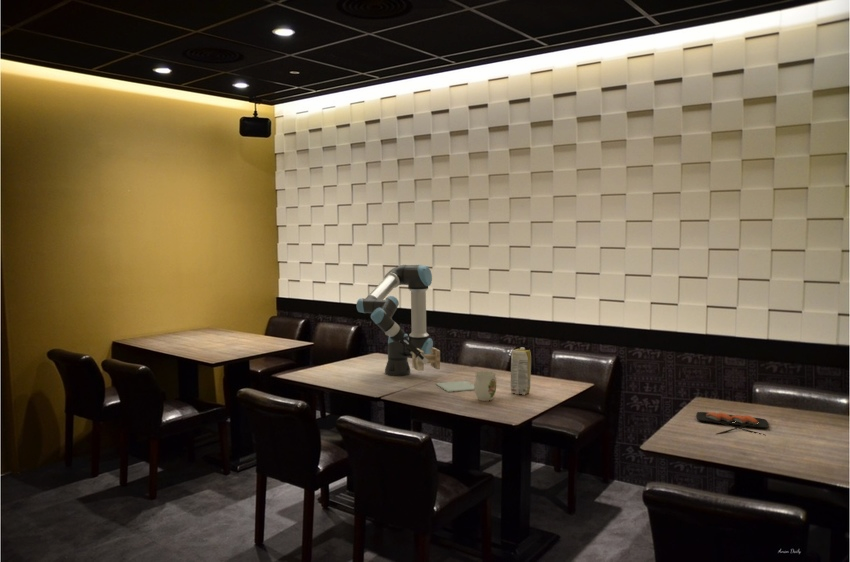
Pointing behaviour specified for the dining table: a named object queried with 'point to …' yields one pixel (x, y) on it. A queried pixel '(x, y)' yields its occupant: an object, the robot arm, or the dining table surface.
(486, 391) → the cream mug
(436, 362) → the stool
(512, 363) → the juice carton
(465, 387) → the mat
